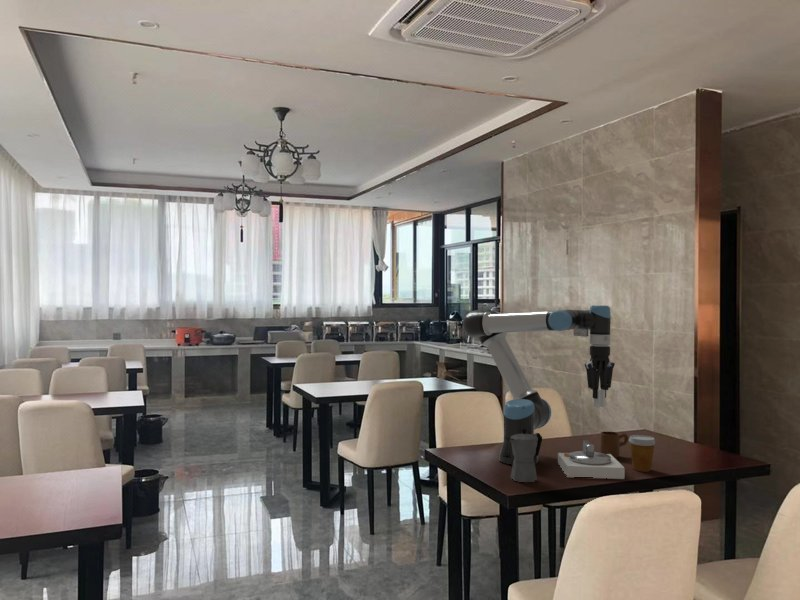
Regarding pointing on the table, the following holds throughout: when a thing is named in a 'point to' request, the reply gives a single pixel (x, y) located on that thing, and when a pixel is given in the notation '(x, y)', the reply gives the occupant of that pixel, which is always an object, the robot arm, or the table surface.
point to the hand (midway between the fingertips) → (599, 406)
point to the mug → (612, 443)
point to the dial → (589, 455)
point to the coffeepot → (525, 456)
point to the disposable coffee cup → (642, 452)
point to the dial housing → (591, 468)
